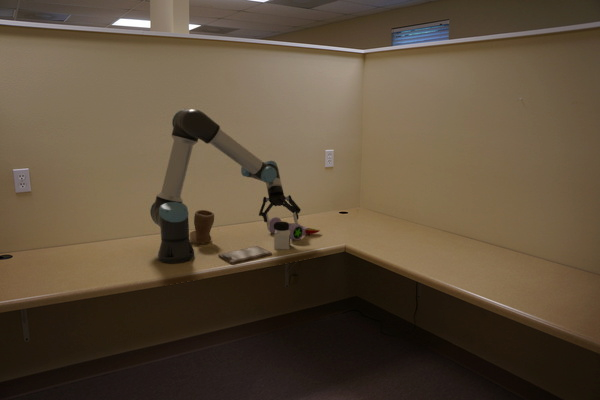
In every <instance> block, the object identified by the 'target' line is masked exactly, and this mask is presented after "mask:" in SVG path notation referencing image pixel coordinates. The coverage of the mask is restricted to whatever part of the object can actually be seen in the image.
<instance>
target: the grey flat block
mask: <svg viewBox="0 0 600 400" xmlns="http://www.w3.org/2000/svg"><path fill="white" fill-rule="evenodd" d="M217 255H218V258H220V259H221V260H223V261H225V262H227V263H229V264H230V265H236V264H239V263H243V262H244V263H245V262H248V261H252V260H256V259H261V258H265V257H269V256H272V255H273V252H271V251H269V250H268V249H265V248H262V246H261V247H260V246H259V245H254V246H251V247H246V248H241V249H237V250H233V251H228V252H224V253H219V254H217Z"/></svg>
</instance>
